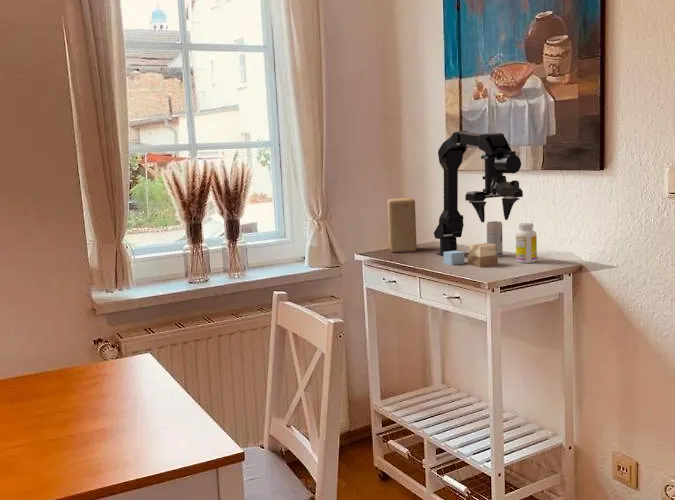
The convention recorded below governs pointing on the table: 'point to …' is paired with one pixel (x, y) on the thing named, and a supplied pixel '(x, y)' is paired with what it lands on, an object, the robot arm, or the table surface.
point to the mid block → (482, 249)
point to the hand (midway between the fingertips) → (494, 221)
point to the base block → (483, 260)
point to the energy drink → (495, 236)
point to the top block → (453, 257)
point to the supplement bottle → (526, 244)
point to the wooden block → (402, 225)
